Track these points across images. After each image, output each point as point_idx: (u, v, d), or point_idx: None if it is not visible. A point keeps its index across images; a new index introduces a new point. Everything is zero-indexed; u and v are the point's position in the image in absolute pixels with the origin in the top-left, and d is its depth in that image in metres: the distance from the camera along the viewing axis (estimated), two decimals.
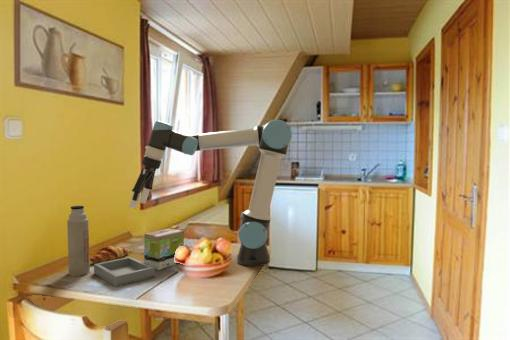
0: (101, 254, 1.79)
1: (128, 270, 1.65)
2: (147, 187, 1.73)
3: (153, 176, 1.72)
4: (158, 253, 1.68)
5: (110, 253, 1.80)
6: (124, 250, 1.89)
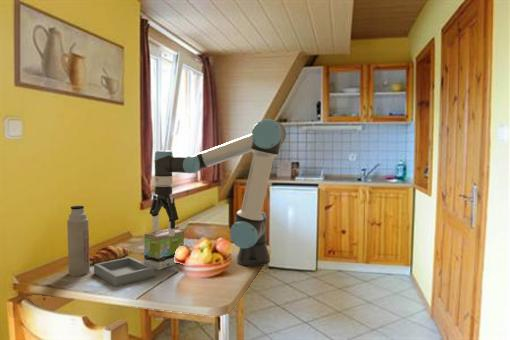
0: (101, 254, 1.79)
1: (128, 270, 1.65)
2: (155, 214, 1.81)
3: None
4: (158, 253, 1.68)
5: (110, 253, 1.80)
6: (124, 250, 1.89)
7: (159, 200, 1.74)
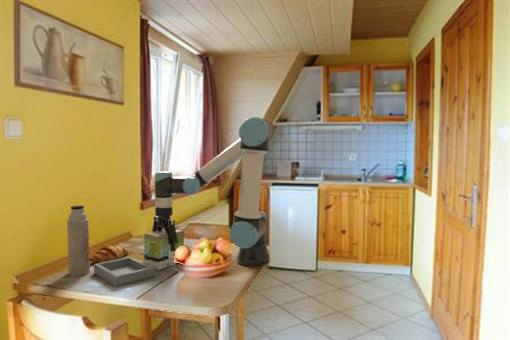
0: (100, 254, 1.79)
1: (128, 270, 1.65)
2: None
3: None
4: (158, 253, 1.68)
5: (109, 253, 1.80)
6: (124, 250, 1.89)
7: (160, 221, 1.75)
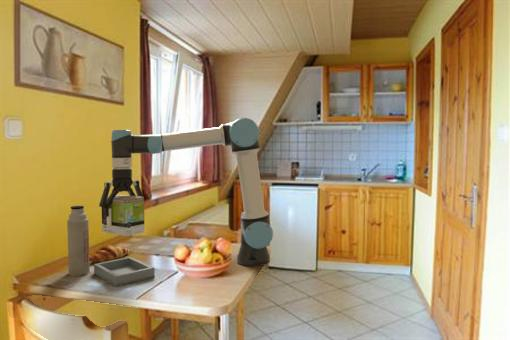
0: (100, 254, 1.79)
1: (128, 270, 1.65)
2: None
3: None
4: (143, 215, 1.59)
5: (109, 253, 1.80)
6: (124, 250, 1.89)
7: (122, 184, 1.57)
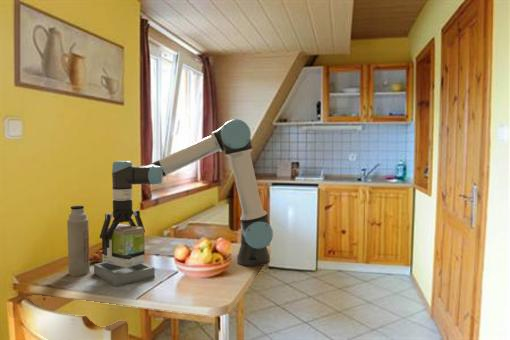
0: (99, 254, 1.79)
1: (128, 270, 1.65)
2: None
3: None
4: (143, 245, 1.60)
5: None
6: None
7: (123, 215, 1.58)
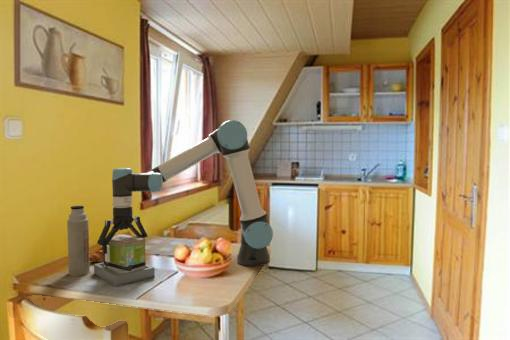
0: (99, 253, 1.80)
1: None
2: None
3: None
4: (144, 257, 1.60)
5: None
6: None
7: (123, 223, 1.58)
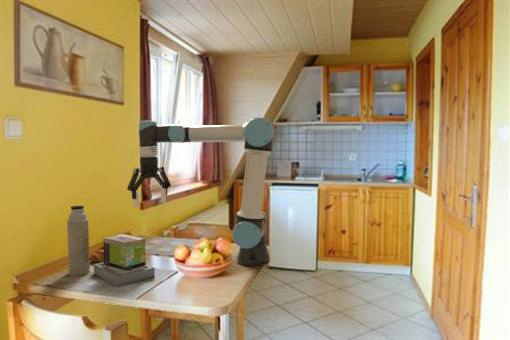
0: (99, 253, 1.80)
1: None
2: None
3: None
4: (144, 256, 1.60)
5: None
6: None
7: (149, 171, 1.71)
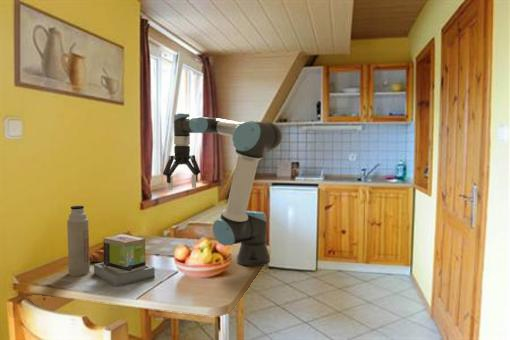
0: (98, 253, 1.80)
1: None
2: None
3: None
4: (144, 256, 1.60)
5: None
6: None
7: (182, 158, 1.92)
